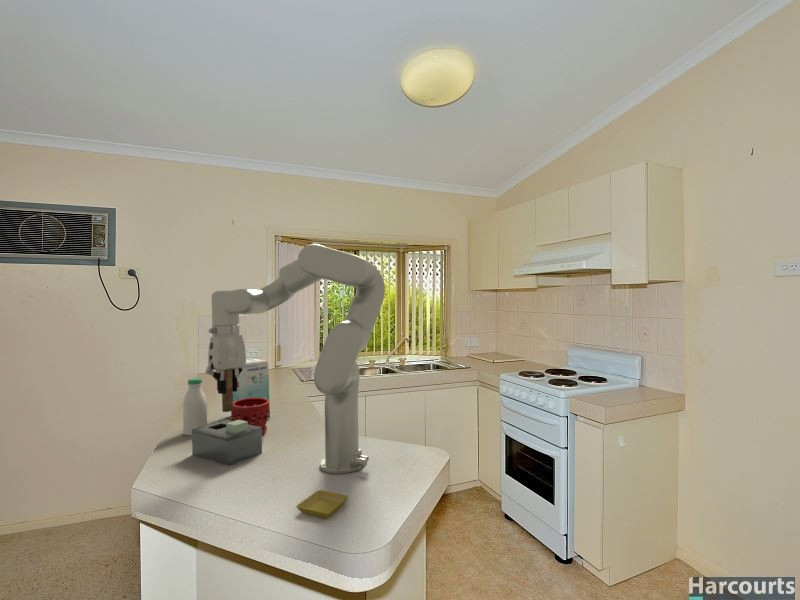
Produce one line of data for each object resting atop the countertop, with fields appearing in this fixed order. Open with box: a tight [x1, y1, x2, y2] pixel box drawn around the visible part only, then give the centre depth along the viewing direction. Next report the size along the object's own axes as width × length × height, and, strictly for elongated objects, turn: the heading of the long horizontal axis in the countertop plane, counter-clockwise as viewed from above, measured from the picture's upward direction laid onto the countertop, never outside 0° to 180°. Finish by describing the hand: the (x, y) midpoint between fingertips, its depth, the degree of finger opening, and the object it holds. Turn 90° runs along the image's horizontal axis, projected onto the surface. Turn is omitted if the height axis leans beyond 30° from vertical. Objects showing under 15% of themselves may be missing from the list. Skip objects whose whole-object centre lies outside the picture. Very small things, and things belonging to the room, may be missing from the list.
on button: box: [226, 420, 248, 434], centre depth 121 cm, size 4×4×5 cm
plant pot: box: [230, 398, 270, 435], centre depth 143 cm, size 13×13×12 cm
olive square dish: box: [296, 489, 350, 519], centre depth 88 cm, size 9×9×2 cm
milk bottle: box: [182, 377, 208, 437], centre depth 146 cm, size 8×8×20 cm
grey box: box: [191, 419, 263, 467], centre depth 123 cm, size 18×12×8 cm, turn 58°
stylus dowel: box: [221, 369, 233, 413], centre depth 118 cm, size 3×3×14 cm
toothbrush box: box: [233, 357, 271, 419], centre depth 166 cm, size 18×10×24 cm, turn 41°
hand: (227, 391), depth 118 cm, fingers closed on stylus dowel, 3 cm apart
